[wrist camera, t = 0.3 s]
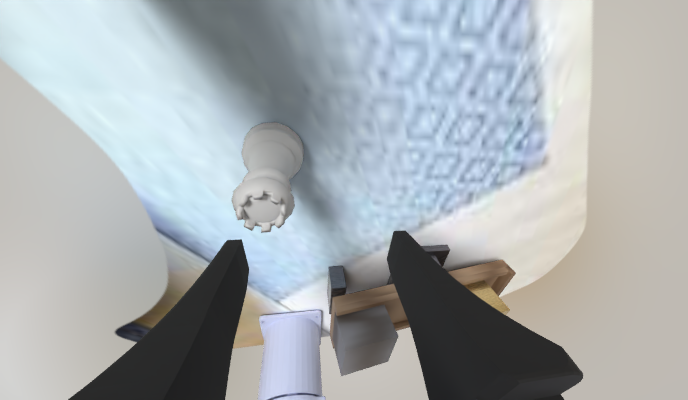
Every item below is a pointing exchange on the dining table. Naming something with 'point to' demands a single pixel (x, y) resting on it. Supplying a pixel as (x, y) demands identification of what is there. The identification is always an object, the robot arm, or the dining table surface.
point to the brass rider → (487, 295)
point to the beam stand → (339, 286)
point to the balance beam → (389, 317)
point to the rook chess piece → (268, 176)
